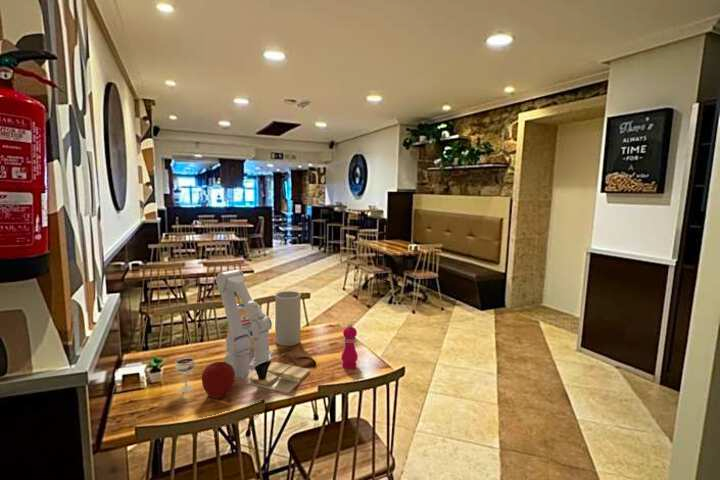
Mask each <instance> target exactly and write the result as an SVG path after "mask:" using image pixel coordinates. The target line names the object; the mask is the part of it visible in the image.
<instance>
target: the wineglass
mask: <svg viewBox="0 0 720 480" xmlns="http://www.w3.org/2000/svg"><path fill="white" fill-rule="evenodd" d="M194 360H195V357H194V356H190V355H188V356H187V355H186V356H180V357H179V358H176V359H175V369H176V372H178V373H180V374H183V375H184V385H185V386H181V387H180V388H179V391H178V392H180V393H189V392H191V391H193V389H194V387H193V386H192V385H188V383H187V380H188V377H187V376H188V375H187V374H188V373H191V372H192V371H193V370H194V368H195V365H196V363H195V361H194Z"/></svg>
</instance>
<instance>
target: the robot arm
mask: <svg viewBox="0 0 720 480" xmlns="http://www.w3.org/2000/svg"><path fill="white" fill-rule="evenodd" d="M245 279H246V277H245V275H244V272H243V271H242V270H241V268H240V269H239V268H237V269H234V270H229V271H224V272H219V273H217V275H216V278H215V282H216V285H217V291H218V293H219V294H220V297H221V300H222V304H223V308H224V311H225V315H226V319H227V323H228V329H229V328H230V333H229V332H228V335H227V336H226V338H225V343H226V344H225V345H226V346H225V347H226V351H227V353H226V355H225V359H224V362H225V363H228V364H230V365H231V366H233V369H234V371H235V377H237V378H244V377H246V376H247V375H248V374H250V373H252V372H253V371H254V370H255V372H256V374H257V375H258V378H259V379H261V380H264V379H265V378H266V375H267V371H268V368H269V365H270V364H271V363H272V357H273V356H274V354H275V350H272V349H270V334H269V333H270V332H269V330H271V329H272V326H273V324H272V320H271V317H270V316H268V315H266V314H265V313H263V310H262V309H261V307H260V306H259V304H258V302H257V301H255V300H253V299H252V296H251V294H250V292H249V290H248V288H247V286H246V284H245ZM235 294H236V295H237V297H238V298H239V299H240V301H241V303H243V304H244V305H245V306H244V311H245V313H246V315H247V316H248V318H249V320H250V322H251V325H250V327H251V330H252V333H253V337H254V349H253V351H254V352H253V353H254V357H253V358H252V359H251V362H250V352H251V350H250V349H251V348H252V346H253V340H252V338H251V336H250V334H249V331H247V330H245V329H243V326H242V322H241V318H240V315H239V311H238V307H237V304H238V303H237V299H236V295H235ZM239 336H242V337H239ZM236 337H239V338H236ZM235 338H236V339H235Z"/></svg>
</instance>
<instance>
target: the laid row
mask: <svg viewBox="0 0 720 480" xmlns="http://www.w3.org/2000/svg"><path fill="white" fill-rule="evenodd" d="M273 371H274V372H279V373H283V374H288V375H293V376H295V377H298V378H300V382H302V380H303V379H304V378H305V377H307V376H308V373H309V372H310V371H311V368H308V367H307V368H302V367H297V366H296V365H292V364H286V363H283V362H282V363H281V362H277V361H271V364H270V365H269V368H268V371H267V372H271V373H272V372H273ZM310 373H311V372H310ZM310 373H309V374H310Z"/></svg>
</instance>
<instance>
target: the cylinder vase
mask: <svg viewBox="0 0 720 480" xmlns="http://www.w3.org/2000/svg"><path fill="white" fill-rule="evenodd" d="M274 297H275V301H274V303H275V305H274V306H275V311H274V312H275V343H276V344H277V345H279V346H281V347H292V346H296V345H297V344H299V343H300V342H301V318H302V317H301V310H302V309H301V306H302V305H301V300H302V299H301V298H302V297H301V293H300V292H298V291H293V290H292V291H291V290H289V291H288V290H287V291H286V290H285V291H280V292H277V293H275V296H274Z"/></svg>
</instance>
